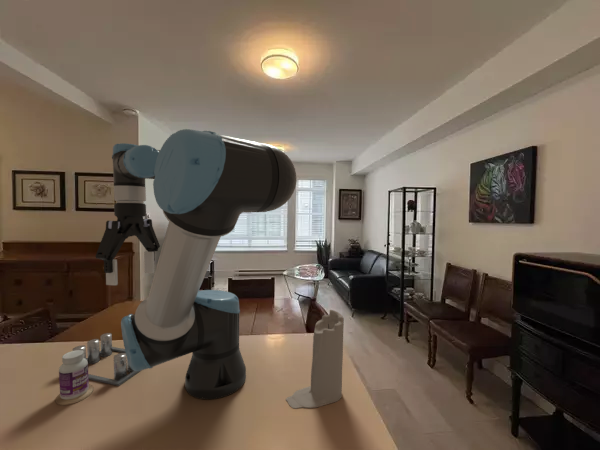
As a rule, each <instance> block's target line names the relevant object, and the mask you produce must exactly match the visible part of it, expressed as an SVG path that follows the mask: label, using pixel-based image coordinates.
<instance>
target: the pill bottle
mask: <svg viewBox="0 0 600 450" xmlns="http://www.w3.org/2000/svg"><path fill="white" fill-rule="evenodd" d="M61 359H62V360H61V362H62V364H61V365H60V366H59V368H58V382H59V394H60V397H61V399H64V400H70V399H74V398H77V397H79V396H81V395H83V394H84V393H85V392H86V391H87V390H88V388H89V384H90V383H89V381H90V379H88V374H89V364H88V361H87V360H86V359H85V358H84V351H83V350H75V351H73V350H72V351H69V352H66V353H65V354H63V355H62V358H61Z"/></svg>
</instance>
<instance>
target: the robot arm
mask: <svg viewBox="0 0 600 450" xmlns="http://www.w3.org/2000/svg"><path fill="white" fill-rule="evenodd" d="M111 159H112V171H113V172H112V173H113V175H112V176H113V200H114V201H115V203H114V204H113V207H114V208H113V213H114V216H115V217H116V218H117V219H116V220H107V221H106V222H105V230H104V231H103V236H102V238H101V241H100V243H99V245H98V248H97V251H96V254H95V259H98V260H102V261H103V271H104V273H105V285H106V286H118V285H119V282H118V281H119V280H118V279H119V278H118V259H115V258H116V256H117V254H118V253H119V252H120V250H121V247H122V246H123V245H124V242H125V241H126V239H128V238H129V237H134V236H135V237H136V238H137V239H138V241H139V242H140V243H141V245H142V246H143V247H144V249H145V250H146V251H143V252H144V253H143V254H144V255H143V256H144V262H143V263H144V274H153V278H152V281H151V286H150V289H149V294H148V297H146V298H144V299H143V300H142V301H141V302H140V303H139V305H138V306H137V307H136V310H135V313H134V314H133V313H129V314H128V315H126V316H123V317H122V318H121V321H120V329H121V335H122V341H123V346H124V349H125V352H126V360H128V363H129V366H130V368H131V369H132V370H134V371H140V372H141V371H144V370H147V369H153V368H154V367H156V366H158V365H159V366H160V365H161V364H165V363H166V362H170V361H172V360H175V359H178V358H181V357H184V356H187V355H189V354H191V353H192V354H191V358H190V360H189V361H190V362H189V365H188V367H187V370H186V374H185V378H184V379H185V381H184V386H185V390H186V392H187V393H188V394H189V395H190V396H192V397H194V398H196V399H200V400H201V399H202V400H214V399H215V400H216V399H219V398H220V399H221V398H224V397H227V396H229V395H232V394H233V393H235V392H236V391H238V390H240V389H241V387H242V386H244V385H245V382H246V378H247V367H246V365H245V362H244V359H243V358H244V357H243V356H242V352H241V349H240V313H241V309H240V300H239V297H238V296H237V295H236V294H235V293H233V292H230V291H225V290H218V289H204V290H203V289H202V290H200V288H201V286H202V284H203V281H204V279H205V276H206V275H207V274H206V273H207V272H208V269H209V266H210V264H211V261H212V259H213V257H214V254H215V252H216V249H217V247H218V245H219V242H220V240H221V237H224V236H226V235H229V234H230V233H231V232H233V231H234V230H235V227H236V224H237V222H238V220H239V217H240V216H241V215H242V214H243V213H244V214H245V213H247V214H251V213H266V212H272V211H275V210H277V209H279V208H281V207H283V206H284V205H286V203H287V202H288V201H289V200H290V199H291V198H292V196H293V194H294V192H295V189H296V185H297V173H296V168H295V165H294V163H293V161H292V160H291V158H289V156H288V155H287V154H286V153H285V152H283V150H281V149H280V148H277V147H275V146H273V145H271V144H267V143H262V142H257V141H252V140H247V139H242V138H238V137H234V136H228V135H223V134H219V133H216V132H215V131H211V130H203V131H202V130H196V129H187V128H185V129H180V130H177V131H176V132H174V133H172V134H170V135H169V136H168V138H167V139H166V140H165V141H164V143H163V144H162V146H161V147H160V149H157V148H155V147H153V146H151V145H147V144H140V145H138V144H134V143H127V142H126V143H116V144H114V145H113V147H112V155H111ZM146 179H148V180H153V181H152V182H153V183H152V185H153V194H154V199H155V201H156V204H157V206H158V207H159V208H160V209H161V210H162V213H163V215H164V217H165V219H167V221H168V223H167V228H166V232H165V234H164V239H163V242H162V246H161V245H160V243H159V239H158V237H157V234H156V232H155V229H154V226H153V220H152V219H151V218H144V217H146V216H147V204H146V203H145V202H146V201H147V195H146V194H147V192H146V191H147V190H146V187H147V186H146ZM160 247H161V250H160V253H159V257H158V261H157V264H156V268H155V256H156V255H155V254H156V253H155V252H159V249H160Z"/></svg>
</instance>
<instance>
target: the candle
mask: <svg viewBox="0 0 600 450" xmlns="http://www.w3.org/2000/svg"><path fill="white" fill-rule="evenodd" d="M344 324H345V323H344V317H343V314H341V313H339V312H338V311H336V310H334V309H330V310H329V314H324V315H322V316H321V319H320V320H318V321H317V322H316V323H315V326H314V332H313V340H312V341H313V342H312V359H311V372H310V373H311V374H310V385H309V386H306V387H303V388H299V389H298V390H296V391H294V392H293V394H292V395H290V396H288V397H286V398H285V401H287V404H288V405H289V407H291V408H292V409H299V408H304V409H305V408H306V409H313V408H314V409H315V408H319V407H322V406H325V405H328V404H329V405H330V404H333V403H337V402H338V401H340V400H341V398H342V396H343V395H342V394H343V393H342V392H343V360H344V359H343V355H344Z"/></svg>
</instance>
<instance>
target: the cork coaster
mask: <svg viewBox="0 0 600 450" xmlns="http://www.w3.org/2000/svg"><path fill="white" fill-rule="evenodd" d="M93 391H94V386H93V385H92V384H91V383H89V388H88V390H87V391H86V392H85V393H84V394H83V395H81V396H79V397H77V398H74V399H70V400H64V399H61V397H60V393H58V394H57V396H56V397H55V403H56V405H59V406H69V405H73V404H76V403H79V402H81V401H83V400H85V399H86V398H88V397H89V396H90V395H92V394H93Z"/></svg>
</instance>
